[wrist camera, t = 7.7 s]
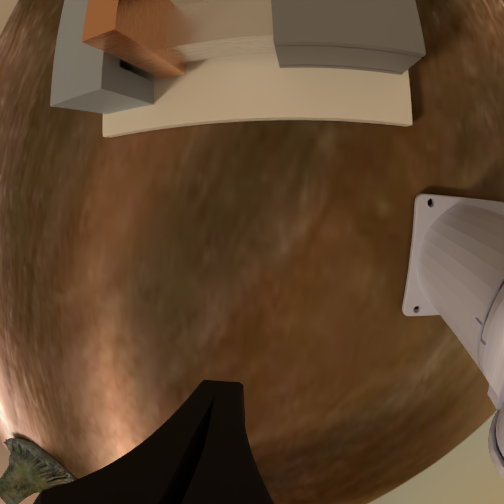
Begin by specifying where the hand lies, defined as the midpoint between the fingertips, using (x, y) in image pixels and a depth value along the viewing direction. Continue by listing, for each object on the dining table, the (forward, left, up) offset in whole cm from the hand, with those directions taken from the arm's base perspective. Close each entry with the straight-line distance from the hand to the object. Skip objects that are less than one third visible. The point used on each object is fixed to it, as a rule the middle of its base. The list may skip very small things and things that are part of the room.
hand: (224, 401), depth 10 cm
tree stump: (+46, +45, -11) cm, 65 cm away
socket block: (+8, -15, -9) cm, 20 cm away
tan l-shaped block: (+3, -15, -9) cm, 18 cm away
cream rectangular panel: (+1, -15, -10) cm, 18 cm away
